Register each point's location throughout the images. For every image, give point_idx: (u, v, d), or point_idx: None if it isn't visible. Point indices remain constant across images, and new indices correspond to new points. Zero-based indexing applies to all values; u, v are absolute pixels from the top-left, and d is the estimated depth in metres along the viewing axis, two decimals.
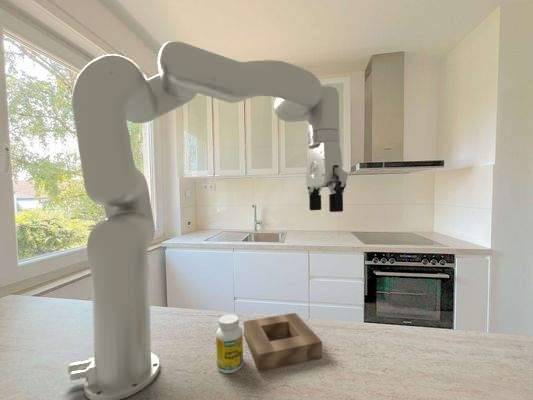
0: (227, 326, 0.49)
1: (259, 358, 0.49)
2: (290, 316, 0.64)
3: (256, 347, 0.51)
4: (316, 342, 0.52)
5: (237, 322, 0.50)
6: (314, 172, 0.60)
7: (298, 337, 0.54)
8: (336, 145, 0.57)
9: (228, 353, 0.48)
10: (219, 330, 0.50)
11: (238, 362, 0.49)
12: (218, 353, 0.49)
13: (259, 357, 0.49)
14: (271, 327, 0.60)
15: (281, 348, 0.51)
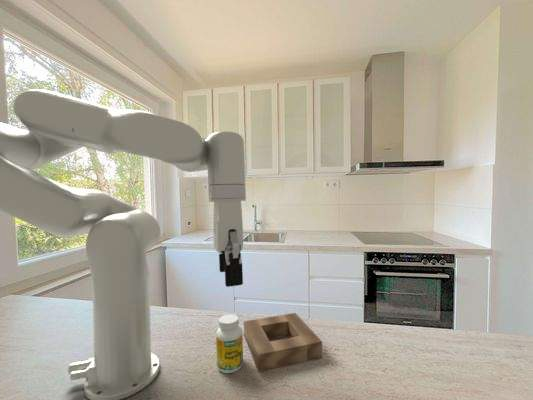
0: (227, 326, 0.49)
1: (259, 358, 0.49)
2: (290, 316, 0.64)
3: (256, 347, 0.51)
4: (316, 342, 0.52)
5: (237, 322, 0.50)
6: None
7: (298, 337, 0.54)
8: (234, 204, 0.47)
9: (228, 353, 0.48)
10: (219, 330, 0.50)
11: (238, 362, 0.49)
12: (218, 353, 0.49)
13: (259, 357, 0.49)
14: (271, 327, 0.60)
15: (281, 348, 0.51)
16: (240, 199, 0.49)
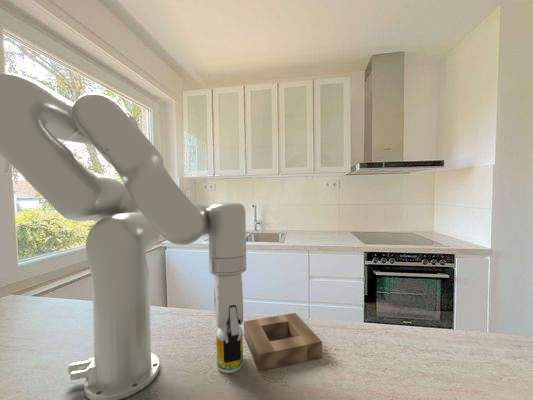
0: None
1: (259, 358, 0.49)
2: (290, 316, 0.64)
3: (256, 347, 0.51)
4: (316, 342, 0.52)
5: None
6: (215, 303, 0.50)
7: (298, 337, 0.54)
8: (235, 279, 0.47)
9: None
10: (219, 330, 0.50)
11: (238, 362, 0.49)
12: (218, 353, 0.49)
13: (259, 357, 0.49)
14: (271, 327, 0.60)
15: (281, 348, 0.51)
16: (241, 271, 0.49)
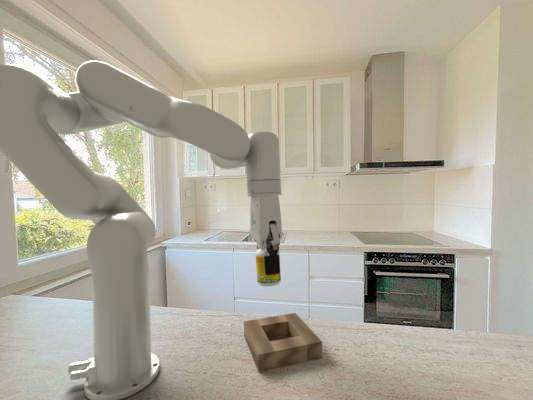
0: None
1: (259, 358, 0.49)
2: (290, 316, 0.64)
3: (256, 347, 0.51)
4: (316, 342, 0.52)
5: None
6: (254, 225, 0.55)
7: (298, 337, 0.54)
8: (273, 198, 0.51)
9: None
10: (258, 250, 0.55)
11: (277, 277, 0.54)
12: (259, 269, 0.54)
13: (259, 357, 0.49)
14: (271, 327, 0.60)
15: (281, 348, 0.51)
16: (277, 193, 0.53)
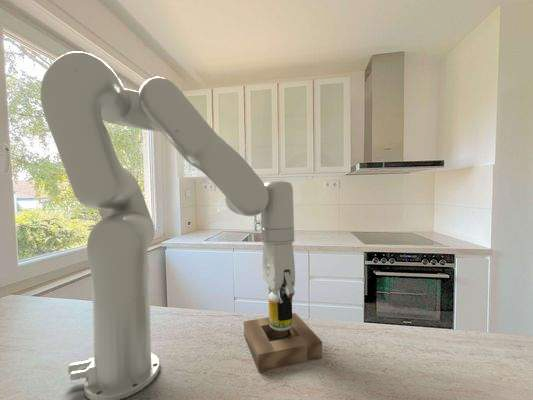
0: None
1: (259, 358, 0.49)
2: None
3: (256, 347, 0.51)
4: (316, 342, 0.52)
5: None
6: (267, 270, 0.56)
7: (298, 337, 0.54)
8: (288, 247, 0.53)
9: None
10: (271, 294, 0.57)
11: (289, 321, 0.56)
12: (272, 314, 0.56)
13: (259, 357, 0.49)
14: None
15: (281, 348, 0.51)
16: (291, 241, 0.55)
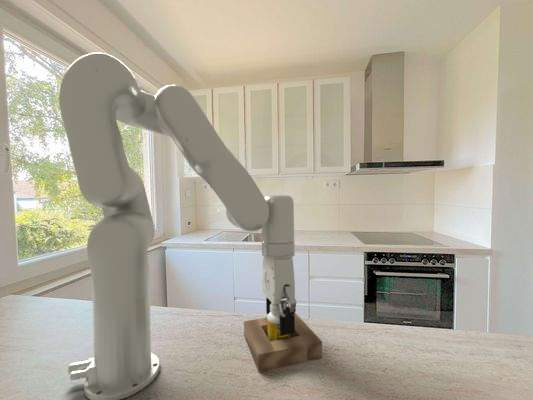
0: (279, 311, 0.55)
1: (259, 358, 0.49)
2: None
3: (256, 347, 0.51)
4: (316, 342, 0.52)
5: None
6: (267, 283, 0.56)
7: (298, 337, 0.54)
8: (288, 261, 0.53)
9: (280, 335, 0.55)
10: (270, 314, 0.57)
11: None
12: (271, 335, 0.55)
13: (259, 357, 0.49)
14: None
15: (281, 348, 0.51)
16: (291, 255, 0.55)
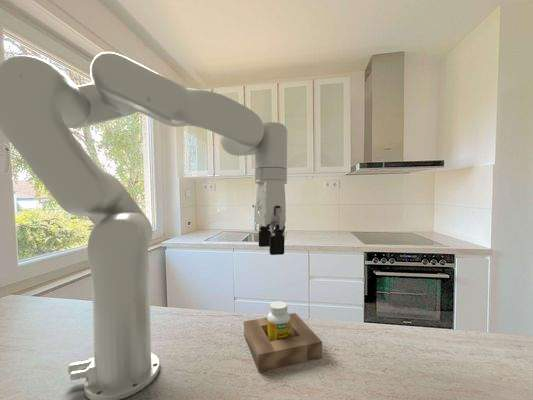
0: (279, 311, 0.55)
1: (259, 358, 0.49)
2: (290, 316, 0.64)
3: (256, 347, 0.51)
4: (316, 342, 0.52)
5: (286, 307, 0.57)
6: (259, 210, 0.58)
7: (298, 337, 0.54)
8: (279, 184, 0.54)
9: (280, 335, 0.55)
10: (270, 315, 0.57)
11: None
12: (271, 335, 0.55)
13: (259, 357, 0.49)
14: None
15: (281, 348, 0.51)
16: (283, 181, 0.56)
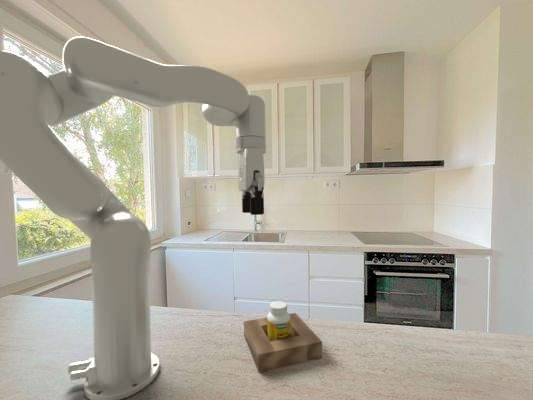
0: (279, 311, 0.55)
1: (259, 358, 0.49)
2: (290, 316, 0.64)
3: (256, 347, 0.51)
4: (316, 342, 0.52)
5: (286, 307, 0.57)
6: (241, 177, 0.63)
7: (298, 337, 0.54)
8: (258, 151, 0.60)
9: (280, 335, 0.55)
10: (270, 315, 0.57)
11: None
12: (271, 335, 0.55)
13: (259, 357, 0.49)
14: None
15: (281, 348, 0.51)
16: (262, 149, 0.61)
